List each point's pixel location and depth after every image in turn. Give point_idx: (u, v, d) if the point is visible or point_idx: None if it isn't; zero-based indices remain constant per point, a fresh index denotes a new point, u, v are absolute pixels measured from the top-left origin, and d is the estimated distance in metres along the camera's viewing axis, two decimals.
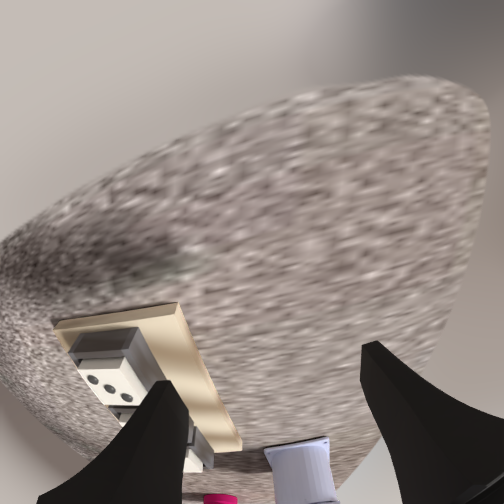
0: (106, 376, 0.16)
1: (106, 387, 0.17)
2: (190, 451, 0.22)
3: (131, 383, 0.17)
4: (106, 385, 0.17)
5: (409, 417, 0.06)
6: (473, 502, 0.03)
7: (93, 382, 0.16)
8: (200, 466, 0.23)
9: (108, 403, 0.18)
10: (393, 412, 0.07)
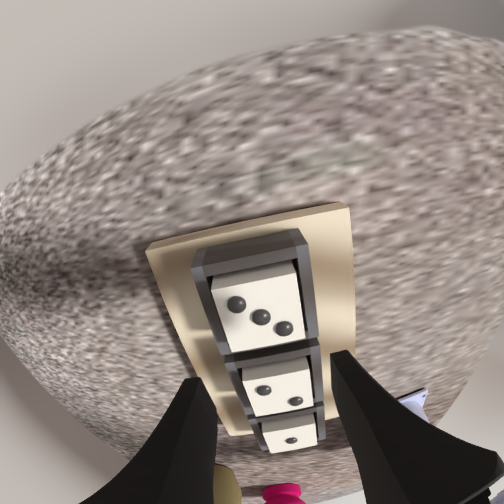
0: (265, 293, 0.13)
1: (258, 313, 0.14)
2: (313, 416, 0.19)
3: (299, 301, 0.14)
4: (256, 312, 0.14)
5: (368, 432, 0.06)
6: None
7: (237, 308, 0.13)
8: None
9: (243, 347, 0.15)
10: (357, 424, 0.07)
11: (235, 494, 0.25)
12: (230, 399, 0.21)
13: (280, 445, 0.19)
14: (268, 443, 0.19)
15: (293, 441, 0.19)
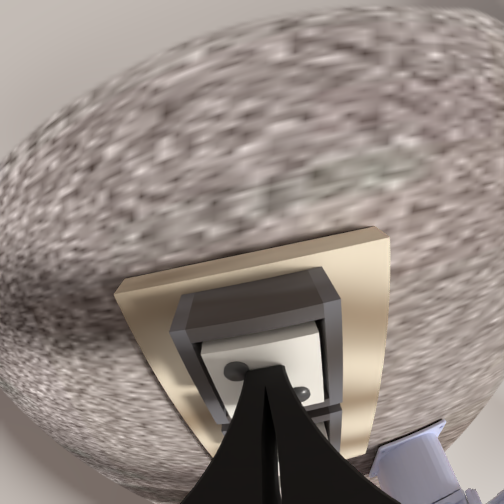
0: (275, 357, 0.09)
1: None
2: None
3: (320, 363, 0.10)
4: None
5: None
6: None
7: (237, 376, 0.09)
8: None
9: None
10: None
11: None
12: None
13: None
14: None
15: None
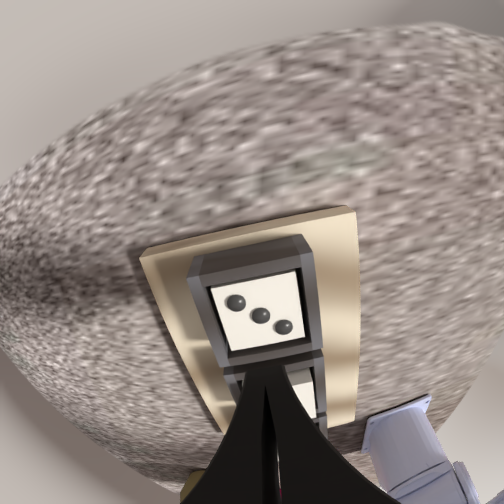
0: (265, 291, 0.13)
1: (258, 311, 0.14)
2: None
3: (299, 299, 0.14)
4: (256, 311, 0.14)
5: None
6: None
7: (236, 307, 0.13)
8: None
9: (242, 346, 0.15)
10: None
11: None
12: (229, 408, 0.20)
13: None
14: None
15: None
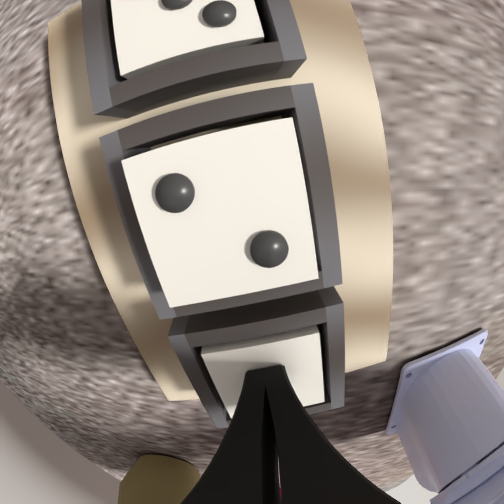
0: None
1: None
2: None
3: None
4: None
5: None
6: None
7: None
8: None
9: (141, 61, 0.06)
10: None
11: None
12: (150, 307, 0.11)
13: None
14: (220, 389, 0.10)
15: None
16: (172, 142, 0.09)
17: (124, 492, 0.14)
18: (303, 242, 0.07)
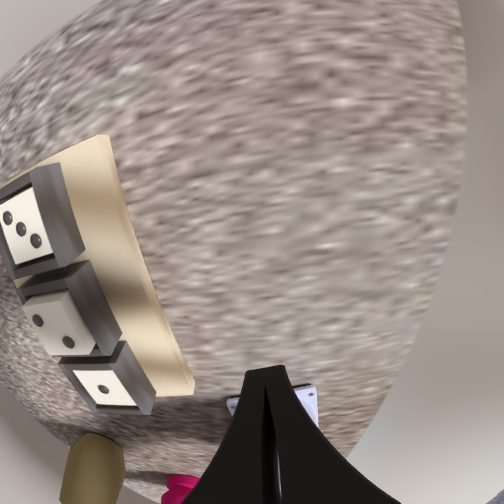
0: (19, 207, 0.12)
1: (17, 224, 0.12)
2: None
3: None
4: (18, 225, 0.12)
5: None
6: None
7: (7, 221, 0.12)
8: None
9: (19, 260, 0.13)
10: None
11: (111, 468, 0.23)
12: None
13: (98, 394, 0.18)
14: (86, 387, 0.18)
15: (104, 390, 0.17)
16: None
17: (69, 455, 0.22)
18: (78, 341, 0.14)
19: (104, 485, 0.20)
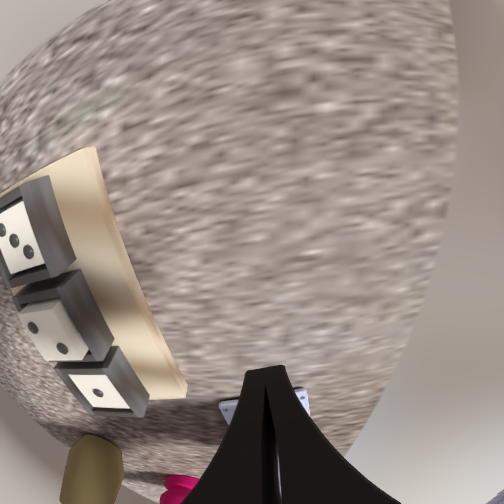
0: (12, 219, 0.12)
1: (11, 236, 0.13)
2: None
3: None
4: (11, 236, 0.13)
5: None
6: None
7: (1, 233, 0.12)
8: None
9: (14, 269, 0.14)
10: None
11: (109, 469, 0.23)
12: None
13: (93, 398, 0.18)
14: (81, 391, 0.18)
15: (99, 394, 0.18)
16: None
17: (68, 456, 0.22)
18: (71, 347, 0.14)
19: (103, 486, 0.20)
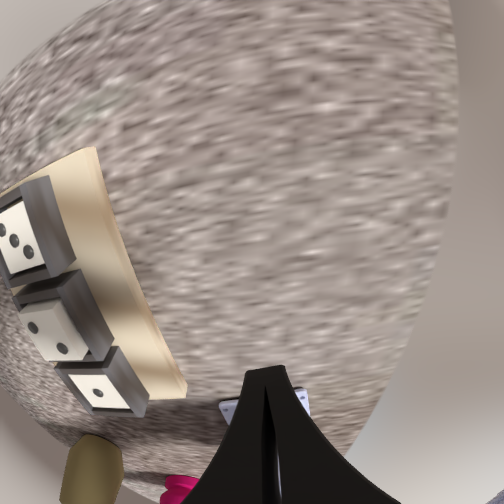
0: (12, 219, 0.12)
1: (11, 236, 0.13)
2: None
3: None
4: (11, 236, 0.13)
5: None
6: None
7: (1, 233, 0.12)
8: None
9: (14, 269, 0.14)
10: None
11: (109, 469, 0.23)
12: None
13: (93, 398, 0.18)
14: (81, 391, 0.18)
15: (99, 394, 0.18)
16: None
17: (68, 456, 0.22)
18: (71, 347, 0.14)
19: (103, 486, 0.20)
